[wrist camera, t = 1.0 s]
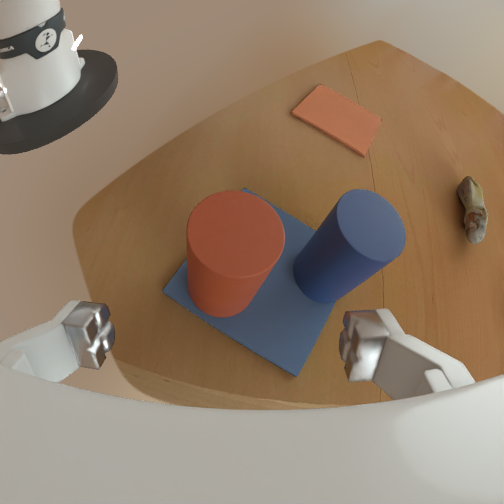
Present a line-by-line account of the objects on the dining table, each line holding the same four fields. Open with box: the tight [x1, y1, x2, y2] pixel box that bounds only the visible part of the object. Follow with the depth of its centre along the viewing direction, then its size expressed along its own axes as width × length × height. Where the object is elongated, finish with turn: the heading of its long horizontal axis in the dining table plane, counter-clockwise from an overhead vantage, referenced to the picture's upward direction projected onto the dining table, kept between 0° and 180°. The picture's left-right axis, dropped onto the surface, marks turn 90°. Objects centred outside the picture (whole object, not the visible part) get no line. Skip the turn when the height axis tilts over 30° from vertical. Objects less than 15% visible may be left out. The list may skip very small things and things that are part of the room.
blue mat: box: [162, 188, 336, 376], centre depth 29 cm, size 14×14×1 cm
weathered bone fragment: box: [457, 176, 488, 244], centre depth 37 cm, size 5×5×15 cm
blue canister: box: [293, 189, 406, 303], centre depth 25 cm, size 6×6×10 cm
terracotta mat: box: [291, 84, 382, 157], centre depth 42 cm, size 12×12×1 cm
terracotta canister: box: [187, 191, 285, 317], centre depth 23 cm, size 6×6×10 cm
